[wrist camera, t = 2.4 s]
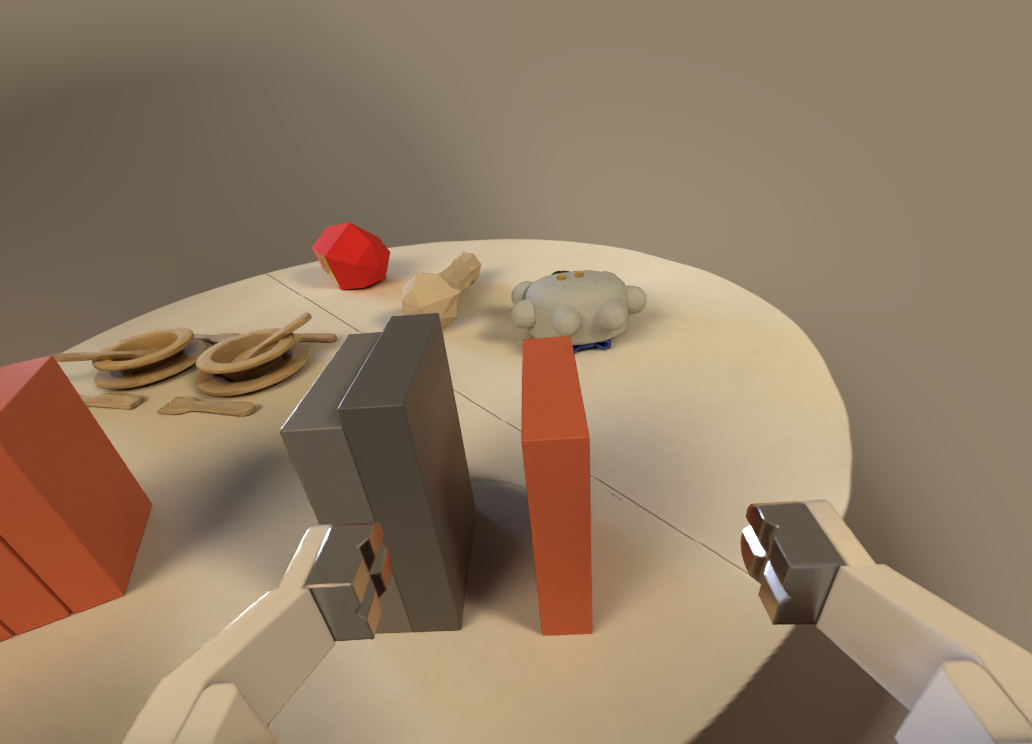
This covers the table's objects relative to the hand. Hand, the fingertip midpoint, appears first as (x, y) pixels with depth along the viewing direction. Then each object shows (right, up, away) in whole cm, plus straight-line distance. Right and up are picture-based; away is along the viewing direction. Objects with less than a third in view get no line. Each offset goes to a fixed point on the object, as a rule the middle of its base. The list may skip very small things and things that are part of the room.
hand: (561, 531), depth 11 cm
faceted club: (-11, +14, +65) cm, 68 cm away
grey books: (-7, -10, +23) cm, 26 cm away
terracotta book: (+2, -10, +22) cm, 24 cm away
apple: (-30, +20, +78) cm, 86 cm away
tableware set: (-43, +4, +53) cm, 68 cm away
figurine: (+7, +10, +54) cm, 56 cm away
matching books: (-35, -12, +26) cm, 45 cm away
